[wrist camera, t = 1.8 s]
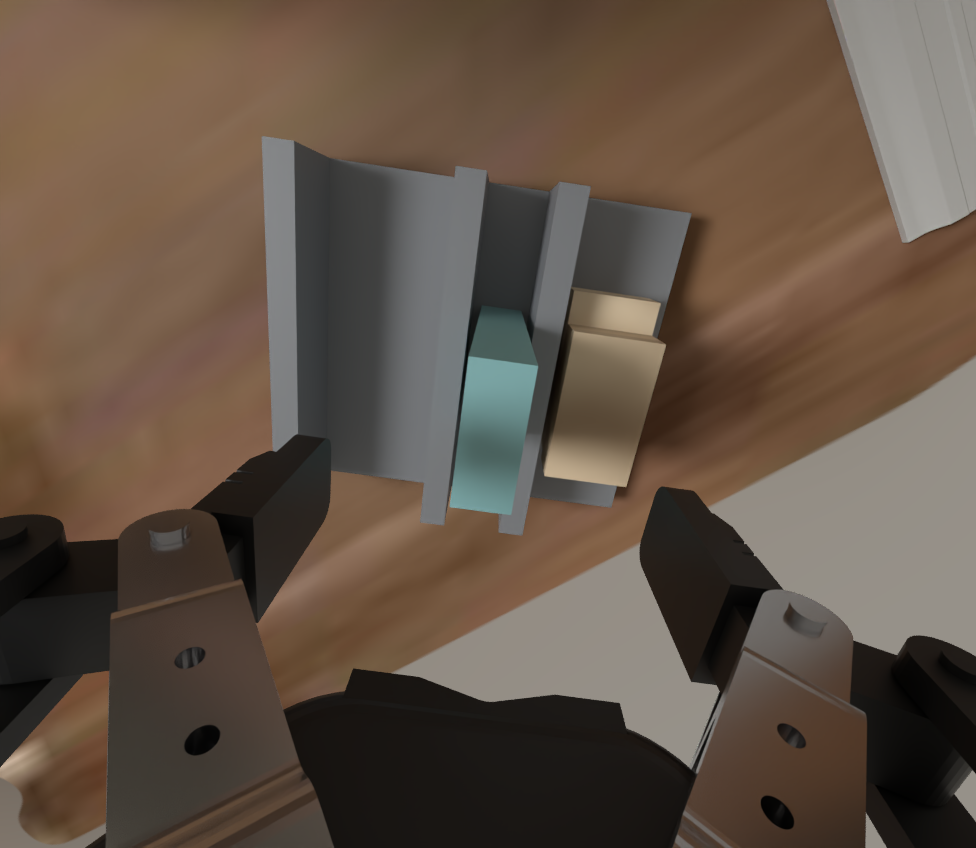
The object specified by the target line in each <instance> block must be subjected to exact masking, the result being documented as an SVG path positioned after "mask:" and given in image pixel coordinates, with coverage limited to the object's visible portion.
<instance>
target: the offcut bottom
mask: <svg viewBox="0 0 976 848" xmlns="http://www.w3.org/2000/svg"><path fill="white" fill-rule="evenodd" d="M660 305H661V303H659V302H657V301H654V300H652V299H649V298H645V297H638V296H631V295H624V294H617V293H611V292H604V291H597V290H590V289H583V288H576V287H571V290H570V295H569V300H568V305H567V310H566V315H565V320H564V326H563V331H562V336H561V341H560V346H559V351H558V356H557V361H556V366H555V371H554V376H553V381H552V387H551V392H550V397H549V402H548V407H547V412H546V417H545V422H544V427H543V432H542V437H541V444H542V448H543V445H544V440H545V435H546V430H547V425H548V420H549V415H550V410H551V405H552V400H553V395H554V390H555V385H556V380H557V375H558V370H559V365H560V360H561V355H562V350H563V345H564V340H565V335H566V330H567V325H568V324H575V325H582V326H589V327H596V328H602V329H609V330H616V331H623V332H630V333H637V334H644V335H651V336H652V334H653V331H654V327H655V323H656V319H657V316H658V312H659V308H660Z"/></svg>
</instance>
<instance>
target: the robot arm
mask: <svg viewBox="0 0 976 848" xmlns="http://www.w3.org/2000/svg"><path fill="white" fill-rule="evenodd" d="M330 485H331V443H330V440H329V439H327V438H320V437H313V436H306V435H299V434H296V435H295V436H293V437H292V438H291V439H290V440H289V441H288V442H287V443H286V444H284V445H283V446H282V447H281V448H280V449H279V450H278V451H277V452H276V451H268V452H266V453H263V454H261V455H258V456H256V457H253V458H251V459H249V460H248V461H247V462H246V463H245V464H243V465H242V466H241V467H240V468H239V469H237V472H234V473H233V474H232V475H230V476H229V477H228V478H227V479H226V481H225V482H222V483H221V484H220V485H218V486H217V487H216V488H215V489H214V490H213V491H211V492H210V493H209V494H208V495H207V496H205V497H204V498H203V499H202V500H201V501H200V502H198V503H197V504H196V505H195V506H194V507H192V508H191V509H175V510H168V511H163V512H158V513H155V514H152V515H149V516H146V517H144V518H141V519H139V520H137V521H136V522H134V523H132V524H131V525H129V526H128V527H127V528H126V529H125V530H124V531H123V532H122V533H121V535H120V536H119V539H113V540H97V541H80V542H67V540H66V536H65V531H64V526H63V524H62V522H61V521H60V520H58V519H56V518H54V517H51V516H46V515H34V514H33V515H17V516H10V517H4V518H0V767H1V766H2V765H3V763H4V762H5V761H6V760H7V759H8V758H9V757H10V756H11V755H12V753H13V752H14V751H15V750H16V749H17V748H18V747H19V746H20V745H21V743H22V742H23V741H24V740H25V739H26V738H27V737H28V736H29V734H30V733H31V732H32V731H33V730H34V729H35V728H36V727H37V726H38V724H39V723H40V722H41V721H42V720H43V719H44V718H45V717H46V716H47V714H48V713H49V712H50V711H51V710H52V709H53V708H54V707H55V706H56V704H57V703H58V702H59V701H60V700H61V699H62V698H63V697H64V695H65V694H66V693H67V692H68V691H69V690H70V689H71V688H72V687H73V685H74V684H75V683H76V682H77V681H78V680H79V679H80V678H81V677H82V675H83V674H87V673H95V672H102V671H109V708H108V755H107V802H106V833H105V834H104V835H102V836H101V837H100V838H98V839H97V840H95V841H94V842H93V843H91V844H90V845H88V846H87V847H86V848H865V837H866V813H867V815H868V816H869V818H870V820H871V821H872V823H873V825H874V826H875V828H876V830H877V832H878V833H879V835H880V836H881V838H882V840H883V842H884V843H885V845H886V847H887V848H976V822H975V820H974V819H973V818H972V816H971V815H970V814H969V813H968V811H967V810H966V809H965V808H964V806H963V805H962V804H961V803H960V801H959V800H958V798H957V797H956V796H955V795H954V793H955V792H956V791H957V789H958V788H959V787H960V785H961V784H962V783H963V781H964V780H965V779H966V778H967V776H968V775H969V774H970V773H971V771H972V770H973V771H974V772H975V773H976V656H974V655H972V654H971V653H969V652H966V651H965V650H963V649H961V648H959V647H957V646H954V645H952V644H950V643H947V642H944V641H942V640H939V639H935V638H932V637H927V636H912V637H910V638H908V639H907V640H906V642H905V644H904V645H903V647H902V649H901V650H900V652H899V653H898V655H894V654H891V653H888V652H885V651H882V650H879V649H877V648H874V647H871V646H868V645H865V644H862V643H859V642H856V641H853V636H852V633H851V631H850V630H849V628H848V627H847V626H846V624H845V623H844V622H843V621H842V620H841V619H840V618H839V617H838V616H837V615H835V614H834V613H833V612H832V611H830V610H829V609H827V608H826V607H824V606H823V605H821V604H819V603H818V602H816V601H814V600H812V599H810V598H808V597H805V596H803V595H800V594H797V593H794V592H790V591H785V590H783V589H782V587H781V586H780V585H779V584H778V582H777V581H776V580H775V579H774V578H773V576H772V575H771V574H770V573H769V571H768V570H767V569H766V568H765V566H764V565H763V564H762V563H761V562H760V560H759V559H758V558H757V557H756V556H754V553H753V552H752V551H751V549H750V548H749V547H748V546H747V544H744V541H743V539H742V538H741V537H740V536H739V535H738V533H737V532H736V531H735V530H734V528H733V527H731V526H730V525H729V524H727V523H726V522H725V521H723V520H722V519H720V518H719V517H718V516H716V515H715V514H712V513H711V512H710V510H709V509H708V508H707V507H706V505H705V504H704V503H703V502H702V500H701V499H700V498H699V496H698V495H697V494H696V493H695V492H694V491H691V490H684V489H676V488H669V487H660V488H659V489H658V490H657V492H656V494H655V497H654V500H653V504H652V507H651V510H650V513H649V517H648V520H647V523H646V526H645V530H644V533H643V536H642V539H641V544H640V562H641V566H642V568H643V571H644V573H645V576H646V578H647V580H648V583H649V585H650V587H651V590H652V592H653V594H654V597H655V599H656V601H657V604H658V606H659V608H660V610H661V613H662V615H663V617H664V620H665V622H666V624H667V627H668V629H669V631H670V634H671V636H672V638H673V640H674V643H675V645H676V648H677V650H678V652H679V654H680V657H681V659H682V661H683V664H684V666H685V668H686V670H687V673H688V675H689V678H690V680H691V682H698V683H705V684H713V685H717V687H718V689H719V691H720V692H719V694H718V696H717V699H716V701H715V703H714V705H713V708H712V710H711V713H710V716H709V718H708V721H707V723H706V726H705V729H704V731H703V733H702V736H701V739H700V741H699V744H698V746H697V749H696V751H695V754H694V756H693V759H692V761H691V764H690V767H687V765H686V764H684V763H683V762H682V761H681V760H680V759H678V758H677V757H676V756H674V755H673V754H671V753H670V752H669V751H667V750H666V749H664V748H663V747H661V746H659V745H658V744H656V743H655V742H653V741H651V740H650V739H648V738H646V737H644V736H642V735H640V734H638V733H636V732H634V731H631V730H628V729H626V726H625V722H624V718H623V714H622V710H621V707H620V703H614V702H607V701H599V700H591V699H583V698H575V697H568V696H560V695H550V696H540V697H532V698H524V699H515V700H506V701H497V702H485V701H481V700H478V699H476V698H473V697H470V696H467V695H465V694H462V693H460V692H457V691H454V690H451V689H449V688H446V687H444V686H441V685H438V684H436V683H433V682H431V681H428V680H426V679H423V678H420V677H414V676H407V675H398V674H391V673H384V672H376V671H368V670H361V669H353V670H352V673H351V676H350V679H349V682H348V685H347V687H346V690H345V691H344V692H336V693H331V694H327V695H322V696H318V697H314V698H311V699H308V700H306V701H303V702H300V703H297V704H295V705H293V706H291V707H288V708H286V709H284V710H283V708H282V705H281V702H280V698H279V695H278V692H277V689H276V686H275V682H274V679H273V676H272V673H271V670H270V666H269V663H268V660H267V657H266V654H265V650H264V647H263V644H262V641H261V638H260V634H259V631H258V628H257V625H256V623H258V622H259V621H260V619H261V617H262V616H263V614H264V613H265V611H266V610H267V608H268V607H269V605H270V604H271V602H272V601H273V599H274V597H275V596H276V594H277V593H278V591H279V590H280V588H281V587H282V585H283V584H284V582H285V581H286V579H287V577H288V576H289V574H290V573H291V571H292V570H293V568H294V567H295V565H296V564H297V562H298V560H299V559H300V557H301V556H302V554H303V553H304V551H305V550H306V548H307V547H308V545H309V544H310V542H311V540H312V539H313V537H314V536H315V534H316V533H317V531H318V530H319V528H320V527H321V525H322V523H323V522H324V520H325V518H326V515H327V512H328V508H329V503H330Z"/></svg>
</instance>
